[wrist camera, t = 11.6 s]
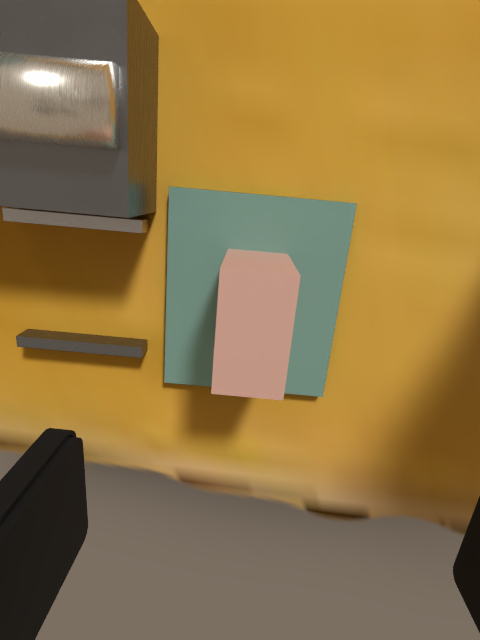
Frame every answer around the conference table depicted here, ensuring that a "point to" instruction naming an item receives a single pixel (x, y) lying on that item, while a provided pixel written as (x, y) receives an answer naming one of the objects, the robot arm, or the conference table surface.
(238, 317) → the pink rectangular prism
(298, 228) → the pad
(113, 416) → the conference table surface
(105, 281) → the conference table surface
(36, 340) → the dispenser
